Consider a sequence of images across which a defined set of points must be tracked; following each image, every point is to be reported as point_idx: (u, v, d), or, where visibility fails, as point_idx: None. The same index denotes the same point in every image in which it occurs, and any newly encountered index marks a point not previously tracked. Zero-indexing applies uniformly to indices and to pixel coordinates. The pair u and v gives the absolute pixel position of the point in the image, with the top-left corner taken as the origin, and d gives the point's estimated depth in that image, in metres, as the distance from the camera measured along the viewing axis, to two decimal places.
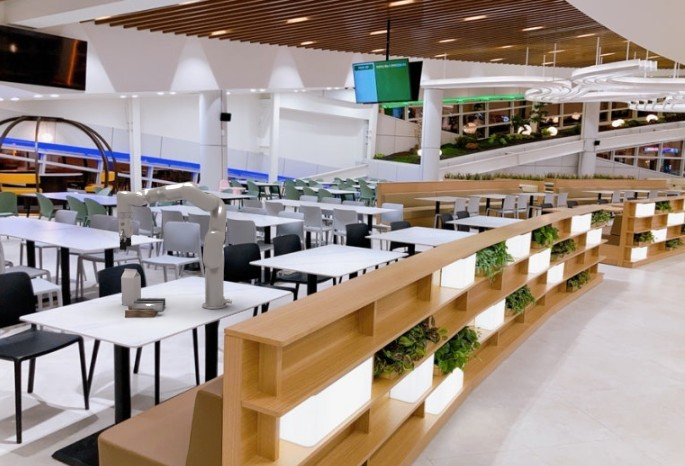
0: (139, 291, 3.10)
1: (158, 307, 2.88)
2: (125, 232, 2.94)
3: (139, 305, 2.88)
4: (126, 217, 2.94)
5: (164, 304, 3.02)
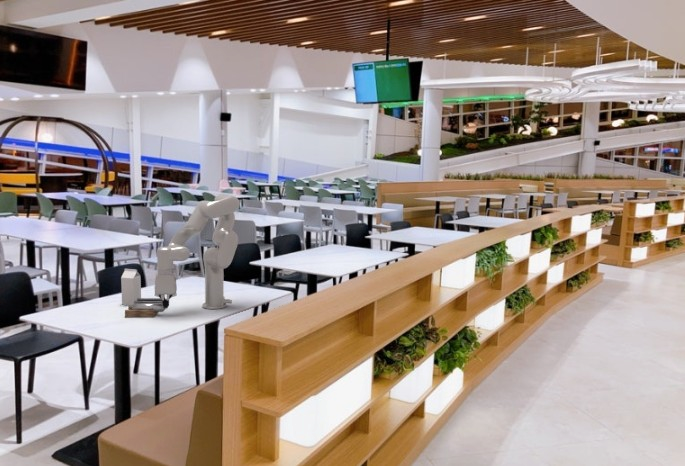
0: (139, 291, 3.10)
1: (158, 307, 2.88)
2: (176, 287, 2.91)
3: (139, 305, 2.88)
4: None
5: None
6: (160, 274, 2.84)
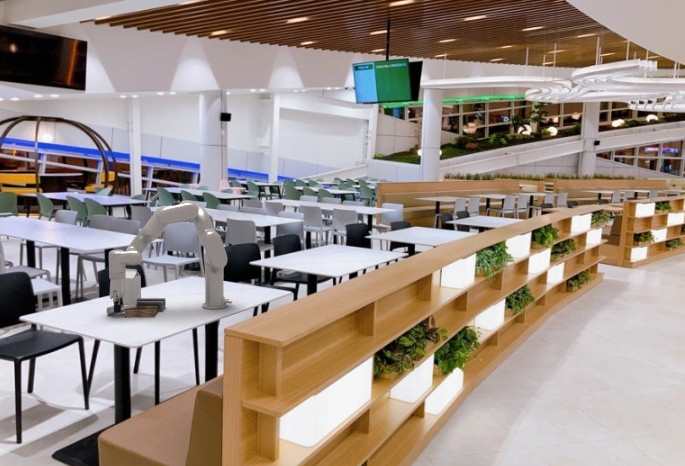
0: (139, 291, 3.10)
1: (132, 305, 2.87)
2: None
3: (113, 308, 2.86)
4: None
5: (164, 304, 3.02)
6: (123, 277, 2.84)
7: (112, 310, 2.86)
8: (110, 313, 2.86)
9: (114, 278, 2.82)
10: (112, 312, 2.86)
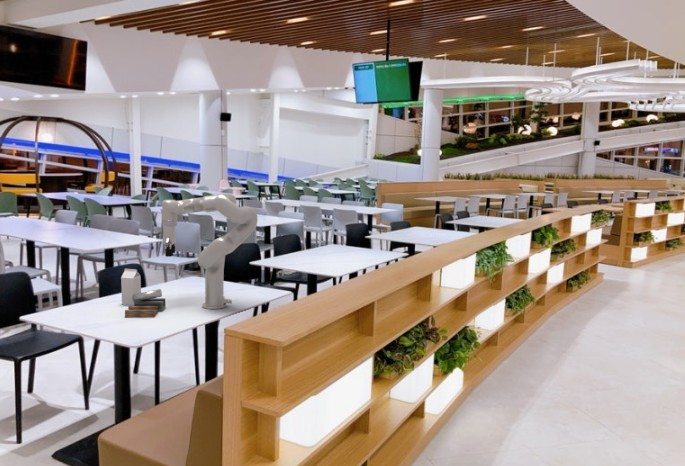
0: (139, 291, 3.10)
1: (157, 293, 2.97)
2: None
3: (138, 295, 2.97)
4: None
5: (164, 304, 3.02)
6: (175, 224, 3.07)
7: (137, 297, 2.96)
8: (135, 300, 2.97)
9: (167, 225, 3.05)
10: (137, 299, 2.96)
